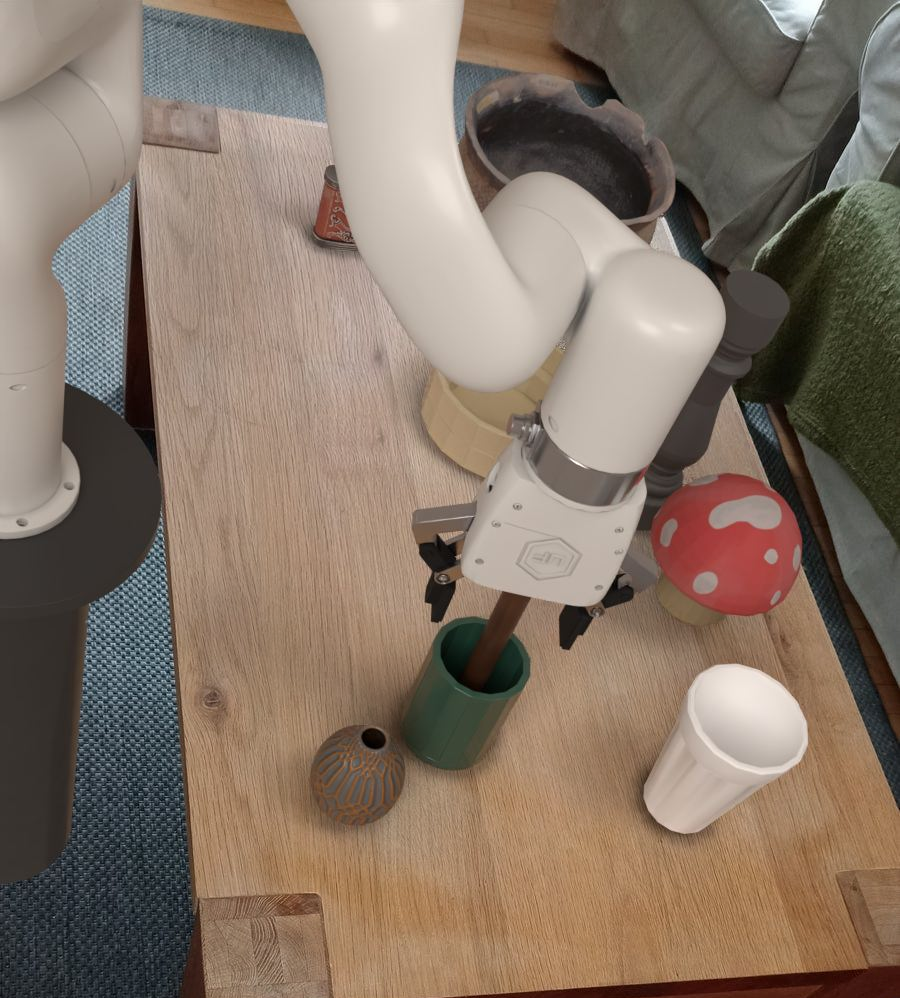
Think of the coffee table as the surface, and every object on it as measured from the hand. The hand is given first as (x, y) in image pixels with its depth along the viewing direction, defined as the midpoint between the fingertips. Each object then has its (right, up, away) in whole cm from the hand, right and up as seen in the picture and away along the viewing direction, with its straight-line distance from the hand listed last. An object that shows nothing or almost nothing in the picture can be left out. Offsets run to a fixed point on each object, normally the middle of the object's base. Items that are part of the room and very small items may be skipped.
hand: (500, 620), depth 94 cm
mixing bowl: (+1, +23, +32) cm, 39 cm away
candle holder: (+14, +15, +32) cm, 38 cm away
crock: (-4, -7, +12) cm, 14 cm away
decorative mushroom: (+18, +4, +26) cm, 32 cm away
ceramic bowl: (+4, +43, +45) cm, 63 cm away
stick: (-4, -7, +11) cm, 14 cm away
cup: (+15, -13, +15) cm, 25 cm away
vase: (-12, -13, +6) cm, 18 cm away
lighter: (-14, +44, +40) cm, 61 cm away
